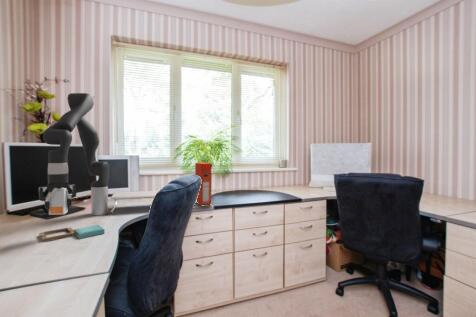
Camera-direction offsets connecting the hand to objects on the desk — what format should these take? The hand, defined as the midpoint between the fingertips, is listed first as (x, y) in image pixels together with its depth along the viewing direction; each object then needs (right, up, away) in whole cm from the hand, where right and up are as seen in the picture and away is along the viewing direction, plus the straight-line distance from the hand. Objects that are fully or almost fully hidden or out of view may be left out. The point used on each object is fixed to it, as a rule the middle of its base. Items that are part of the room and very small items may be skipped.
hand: (58, 208), depth 108 cm
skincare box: (0, -3, 0) cm, 3 cm away
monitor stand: (+14, -13, +59) cm, 62 cm away
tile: (+12, -13, +3) cm, 18 cm away
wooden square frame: (0, -13, 0) cm, 13 cm away
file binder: (+56, -13, +75) cm, 94 cm away
